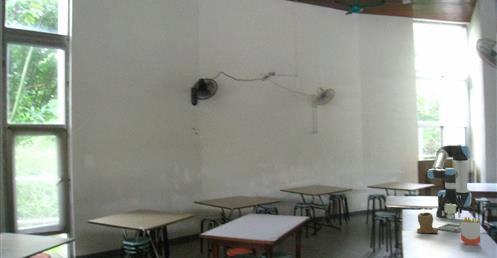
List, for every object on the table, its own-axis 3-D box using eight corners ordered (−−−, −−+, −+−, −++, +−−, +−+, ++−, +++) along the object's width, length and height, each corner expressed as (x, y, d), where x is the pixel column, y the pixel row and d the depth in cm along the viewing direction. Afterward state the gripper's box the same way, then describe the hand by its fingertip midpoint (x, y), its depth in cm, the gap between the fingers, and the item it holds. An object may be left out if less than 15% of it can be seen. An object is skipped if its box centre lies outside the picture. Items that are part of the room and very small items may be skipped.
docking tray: (444, 226, 331) (444, 222, 331) (466, 228, 320) (466, 225, 320) (436, 229, 319) (436, 226, 319) (459, 232, 308) (458, 229, 308)
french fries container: (461, 242, 281) (460, 216, 281) (479, 243, 277) (478, 216, 277) (462, 244, 276) (461, 217, 277) (480, 245, 273) (479, 218, 273)
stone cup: (417, 234, 306) (417, 213, 306) (416, 230, 317) (415, 211, 317) (440, 235, 301) (439, 214, 301) (437, 231, 312) (437, 211, 313)
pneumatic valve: (458, 220, 315) (458, 204, 315) (441, 218, 320) (441, 202, 321) (459, 218, 320) (458, 203, 320) (442, 217, 325) (442, 201, 325)
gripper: (433, 187, 326) (433, 215, 325) (465, 189, 309) (466, 219, 309) (436, 186, 331) (437, 214, 330) (468, 188, 315) (469, 217, 314)
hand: (451, 216), depth 320 cm, fingers closed on pneumatic valve, 11 cm apart
